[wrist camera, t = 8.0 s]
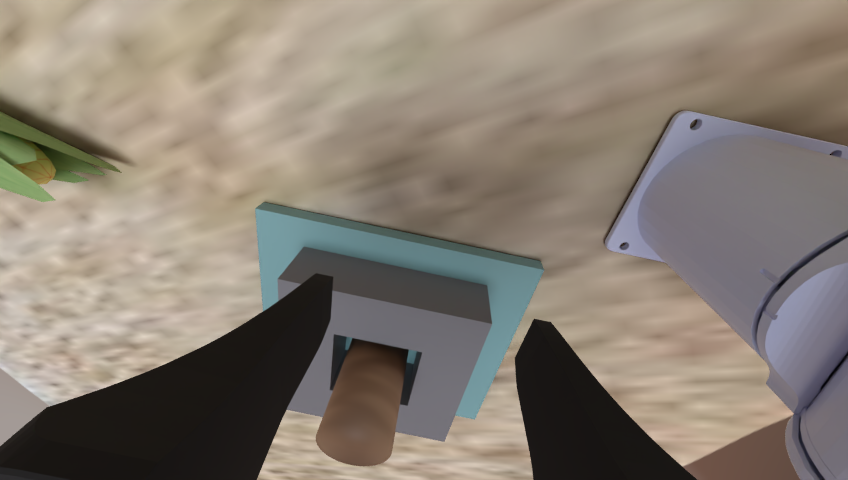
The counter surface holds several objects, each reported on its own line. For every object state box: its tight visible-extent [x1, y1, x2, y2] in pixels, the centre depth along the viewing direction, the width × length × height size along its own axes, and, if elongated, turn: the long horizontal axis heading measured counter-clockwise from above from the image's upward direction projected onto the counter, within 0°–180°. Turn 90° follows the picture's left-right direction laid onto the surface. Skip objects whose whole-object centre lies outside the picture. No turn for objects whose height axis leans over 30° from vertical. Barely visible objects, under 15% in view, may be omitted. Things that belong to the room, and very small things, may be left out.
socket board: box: [255, 202, 544, 442], centre depth 23 cm, size 18×16×4 cm
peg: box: [316, 338, 409, 466], centre depth 20 cm, size 4×4×8 cm
